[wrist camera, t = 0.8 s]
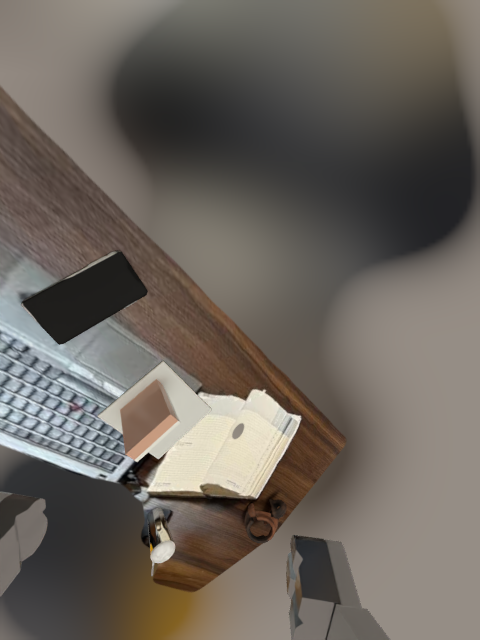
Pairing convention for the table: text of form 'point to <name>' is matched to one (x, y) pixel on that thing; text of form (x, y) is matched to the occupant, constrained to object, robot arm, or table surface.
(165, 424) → the tile
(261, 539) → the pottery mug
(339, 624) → the robot arm
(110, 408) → the mat
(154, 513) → the milkshake
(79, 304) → the smartphone
